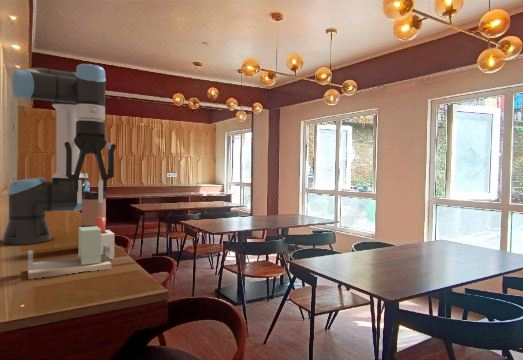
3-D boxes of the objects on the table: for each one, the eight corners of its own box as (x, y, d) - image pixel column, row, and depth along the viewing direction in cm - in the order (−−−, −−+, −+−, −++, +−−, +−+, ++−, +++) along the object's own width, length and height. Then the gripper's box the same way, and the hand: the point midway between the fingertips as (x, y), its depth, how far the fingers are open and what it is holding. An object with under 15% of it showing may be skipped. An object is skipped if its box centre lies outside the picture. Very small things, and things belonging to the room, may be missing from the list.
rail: (27, 270, 102) (27, 249, 102) (105, 261, 113) (105, 242, 113) (28, 279, 95) (28, 256, 94) (111, 268, 106) (111, 248, 105)
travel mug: (96, 251, 125) (96, 192, 124) (76, 250, 126) (76, 191, 126) (110, 246, 132) (110, 191, 132) (91, 245, 134) (91, 190, 133)
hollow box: (85, 256, 119) (85, 231, 119) (108, 253, 123) (109, 229, 122) (89, 262, 112) (90, 235, 112) (114, 259, 116) (114, 233, 116)
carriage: (78, 259, 108) (78, 227, 107) (96, 257, 111) (97, 226, 110) (81, 264, 103) (81, 230, 102) (100, 262, 105) (101, 229, 105)
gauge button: (94, 232, 118) (94, 217, 117) (104, 232, 119) (104, 216, 119) (95, 234, 115) (95, 218, 115) (106, 233, 117) (106, 218, 117)
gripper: (55, 116, 97) (55, 205, 98) (126, 122, 107) (125, 203, 108) (53, 119, 103) (53, 202, 104) (120, 124, 113) (119, 200, 114)
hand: (90, 202), depth 106 cm, fingers open, 5 cm apart
